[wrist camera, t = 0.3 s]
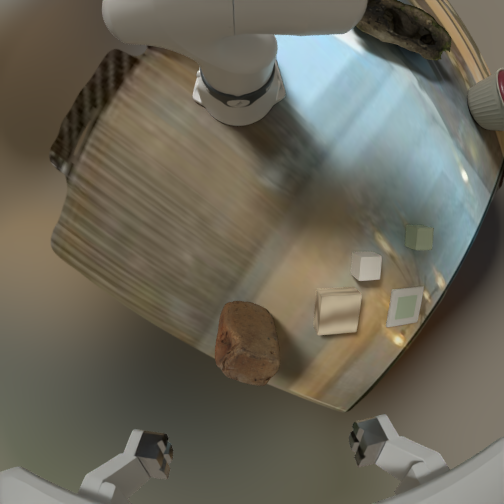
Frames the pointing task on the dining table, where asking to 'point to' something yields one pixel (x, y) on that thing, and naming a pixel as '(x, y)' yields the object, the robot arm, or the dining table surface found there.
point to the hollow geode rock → (405, 28)
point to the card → (404, 306)
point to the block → (247, 343)
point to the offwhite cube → (366, 265)
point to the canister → (488, 101)
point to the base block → (336, 310)
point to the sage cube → (419, 237)
